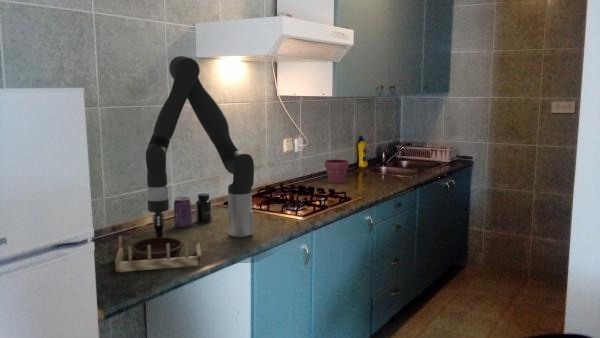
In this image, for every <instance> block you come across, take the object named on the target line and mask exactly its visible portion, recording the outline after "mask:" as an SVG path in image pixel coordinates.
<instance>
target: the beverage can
mask: <svg viewBox="0 0 600 338" xmlns="http://www.w3.org/2000/svg"><path fill="white" fill-rule="evenodd" d="M173 216H174V217H173V218H174V219H173V221H174V227H177V228H179V229H186V228H189V227H190V226H192V224H193V218H192V217H193V216H192V201H191V198H190V197H188V196H180V197H179V196H178V197H175V198H174V202H173Z"/></svg>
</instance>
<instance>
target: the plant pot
mask: <svg viewBox="0 0 600 338" xmlns="http://www.w3.org/2000/svg"><path fill="white" fill-rule="evenodd" d="M349 163H350V162H349V160H347V159H338V158H337V159H326V160H324V168H325V169H326V174H327V175H326V176H327V179H328V183H330V184H343V183H345V180H346V175H347V171H348V168H349V166H350V165H349Z"/></svg>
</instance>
